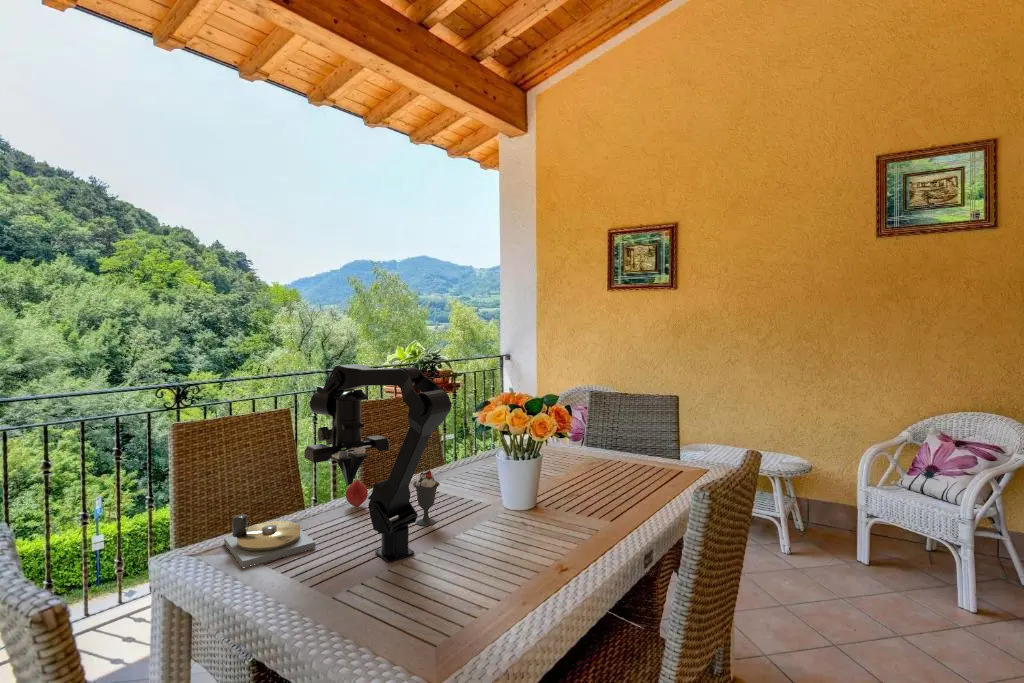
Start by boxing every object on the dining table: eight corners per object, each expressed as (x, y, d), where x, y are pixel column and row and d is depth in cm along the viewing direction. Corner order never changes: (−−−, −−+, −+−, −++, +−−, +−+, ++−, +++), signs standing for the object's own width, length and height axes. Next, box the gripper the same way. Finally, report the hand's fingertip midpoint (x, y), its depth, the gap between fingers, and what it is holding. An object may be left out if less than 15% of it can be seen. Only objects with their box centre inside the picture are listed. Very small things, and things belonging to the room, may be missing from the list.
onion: (340, 508, 144) (341, 479, 144) (356, 502, 149) (356, 474, 149) (356, 512, 142) (357, 483, 141) (372, 506, 147) (372, 477, 146)
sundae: (434, 528, 132) (434, 469, 131) (408, 526, 133) (409, 467, 132) (442, 519, 138) (443, 462, 138) (418, 516, 140) (419, 460, 139)
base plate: (315, 548, 119) (315, 542, 119) (242, 568, 110) (242, 561, 109) (291, 527, 131) (291, 521, 131) (224, 544, 121) (224, 537, 121)
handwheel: (275, 523, 129) (275, 500, 129) (312, 534, 123) (312, 511, 122) (224, 542, 118) (224, 518, 117) (262, 556, 111) (262, 530, 111)
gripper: (368, 409, 136) (368, 469, 137) (295, 418, 124) (295, 484, 124) (390, 415, 128) (390, 479, 129) (314, 425, 115) (314, 496, 116)
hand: (348, 484), depth 125 cm, fingers closed
